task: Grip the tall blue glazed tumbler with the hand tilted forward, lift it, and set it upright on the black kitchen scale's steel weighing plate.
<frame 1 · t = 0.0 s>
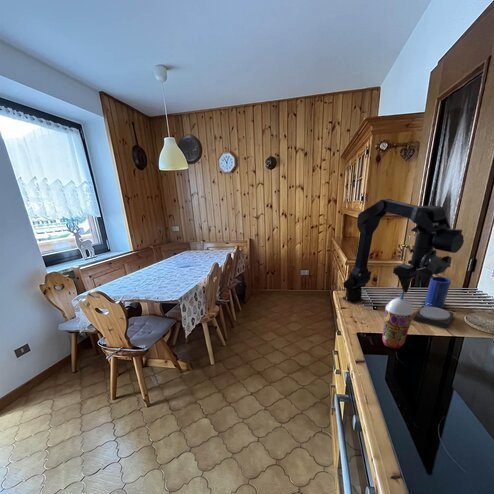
hand: (414, 289, 102), 15 cm above the counter, tool pointing down, fingers open, 9 cm apart
tumbler: (434, 304, 122), on the counter
smoothie: (392, 344, 98), on the counter
scale: (433, 318, 111), on the counter
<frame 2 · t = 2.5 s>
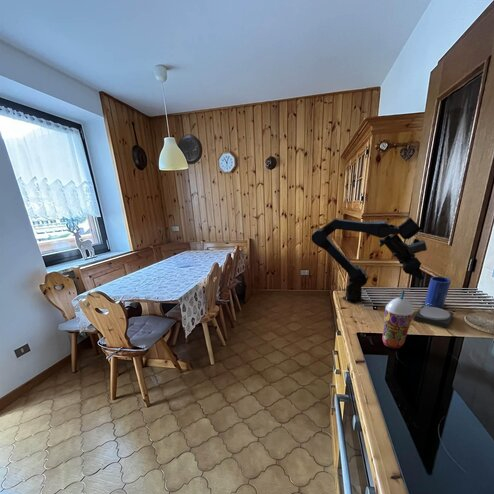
hand: (420, 274, 117), 13 cm above the counter, tool tilted 45°, fingers open, 9 cm apart
nothing on the counter moved.
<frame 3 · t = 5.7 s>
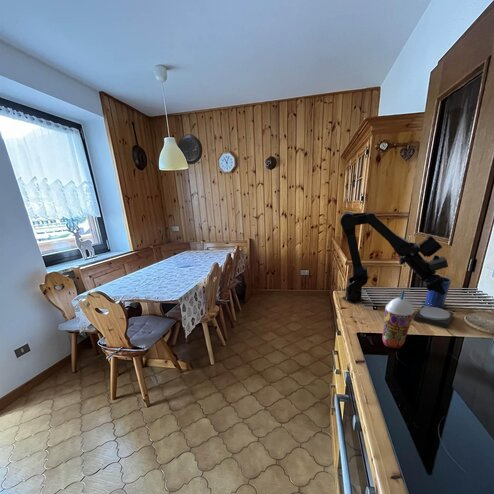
hand: (441, 290, 119), 7 cm above the counter, tool tilted 45°, fingers closed on tumbler, 7 cm apart
tumbler: (434, 304, 122), on the counter, touching gripper
everything else where it was.
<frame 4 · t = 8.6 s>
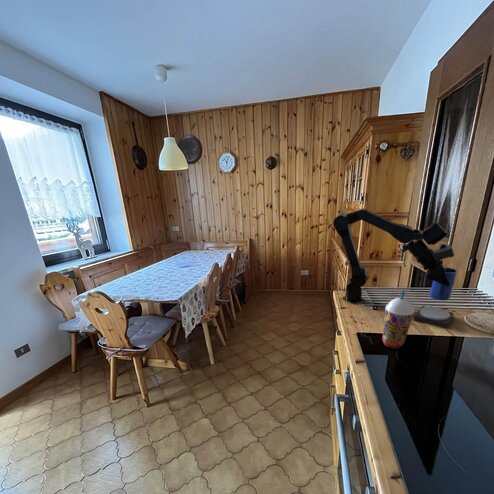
hand: (447, 282, 112), 12 cm above the counter, tool tilted 45°, fingers closed on tumbler, 7 cm apart
tumbler: (439, 296, 115), point 6 cm above the counter, touching gripper
everything else where it was.
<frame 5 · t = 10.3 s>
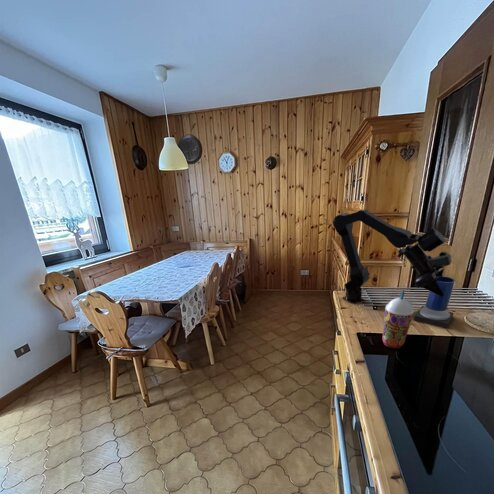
hand: (444, 292, 105), 12 cm above the counter, tool tilted 45°, fingers closed on tumbler, 7 cm apart
tumbler: (435, 307, 109), point 5 cm above the counter, touching gripper
everything else where it was.
when the fingers open (9 cm above the counter, at t = 11.6 s): tumbler stays where it is, resting on scale.
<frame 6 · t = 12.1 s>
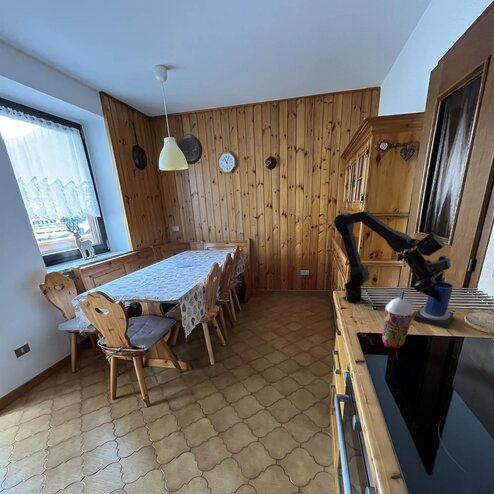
hand: (443, 296, 106), 10 cm above the counter, tool tilted 45°, fingers open, 9 cm apart
tumbler: (434, 312, 110), point 3 cm above the counter, touching scale
everything else where it was.
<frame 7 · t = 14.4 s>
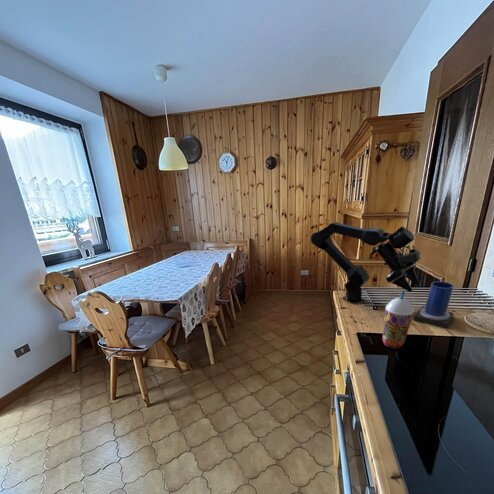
hand: (414, 287, 111), 11 cm above the counter, tool tilted 45°, fingers open, 9 cm apart
nothing on the counter moved.
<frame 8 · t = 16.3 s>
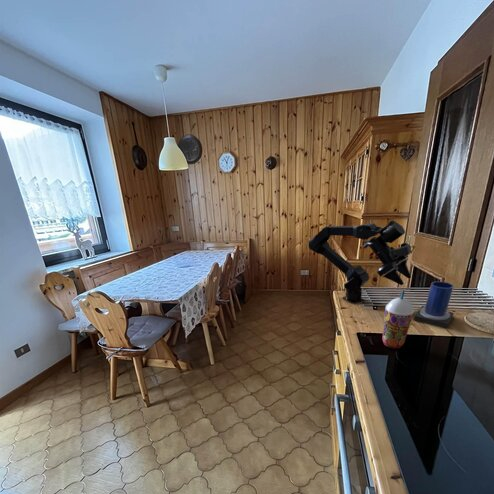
hand: (406, 281, 112), 14 cm above the counter, tool tilted 45°, fingers open, 9 cm apart
nothing on the counter moved.
at the end: tumbler 0.0 cm off-centre on the scale, point 2.8 cm above the scale's base; tumbler tilted 0°; the gripper is holding nothing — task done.
